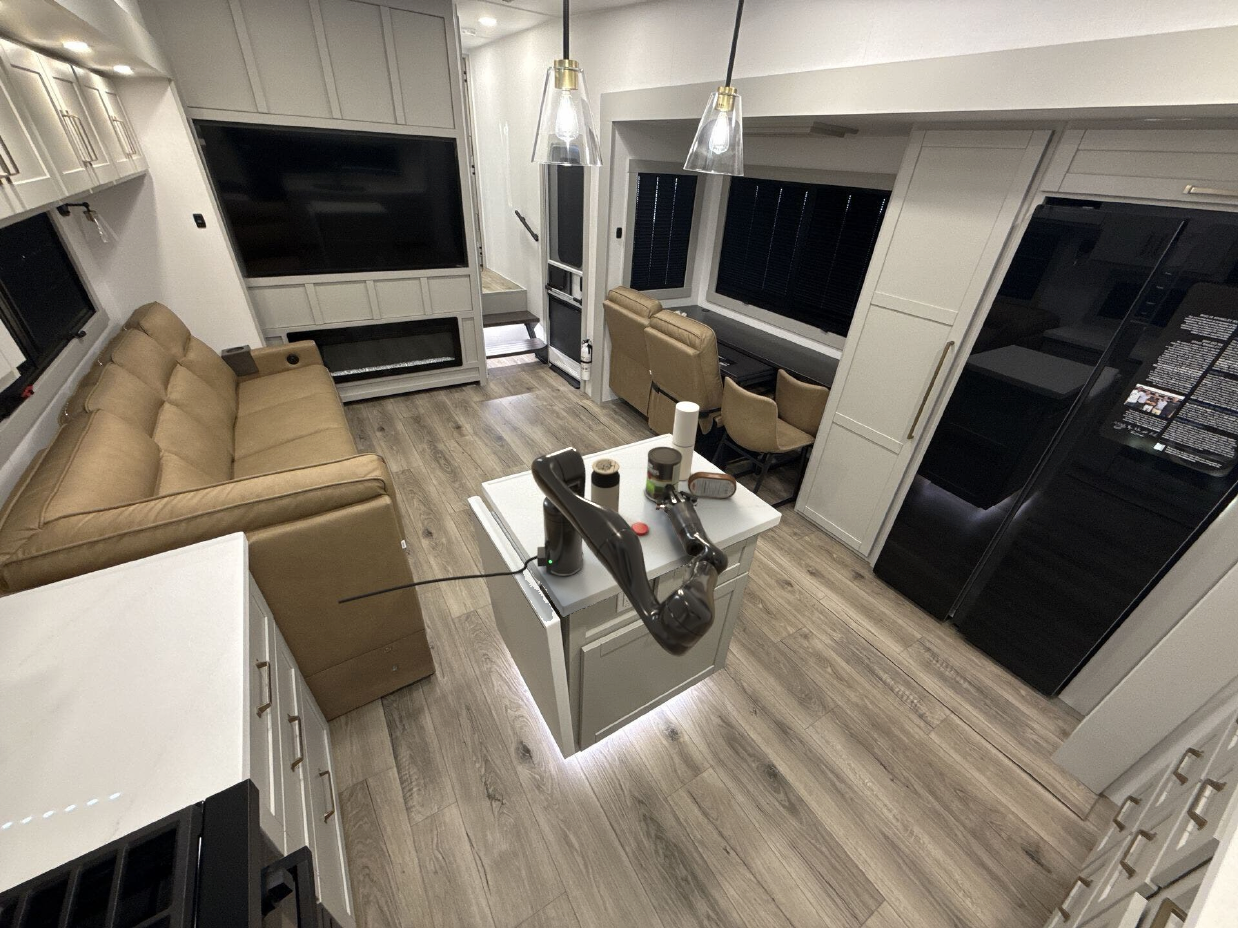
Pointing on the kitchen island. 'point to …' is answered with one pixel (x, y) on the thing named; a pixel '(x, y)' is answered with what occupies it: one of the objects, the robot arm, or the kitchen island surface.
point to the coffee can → (662, 471)
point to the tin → (712, 485)
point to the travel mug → (605, 483)
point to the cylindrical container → (685, 434)
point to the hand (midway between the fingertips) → (668, 486)
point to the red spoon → (640, 528)
